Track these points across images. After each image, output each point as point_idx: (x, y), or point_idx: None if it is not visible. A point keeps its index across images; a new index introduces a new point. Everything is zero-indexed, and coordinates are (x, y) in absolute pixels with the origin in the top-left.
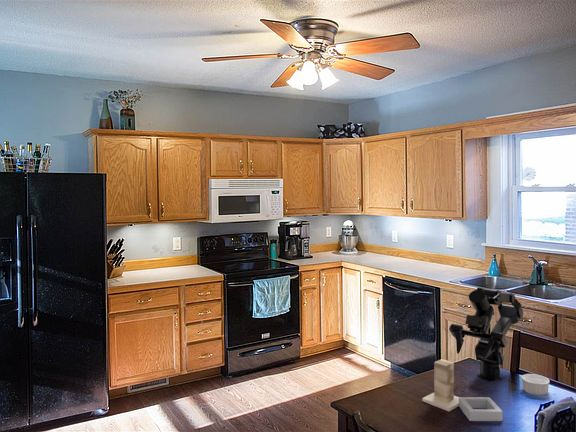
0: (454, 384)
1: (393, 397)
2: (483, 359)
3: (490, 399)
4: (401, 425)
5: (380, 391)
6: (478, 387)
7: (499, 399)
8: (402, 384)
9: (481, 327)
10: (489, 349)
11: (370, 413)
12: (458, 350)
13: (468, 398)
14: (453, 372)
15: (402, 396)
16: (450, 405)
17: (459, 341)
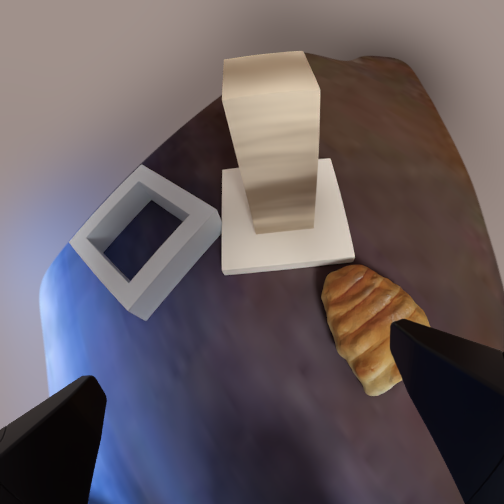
0: (340, 343)
1: (389, 129)
2: (102, 390)
3: (117, 293)
4: None
5: (435, 133)
6: (279, 467)
7: (148, 415)
8: (465, 211)
9: None
10: (3, 436)
11: (335, 65)
12: (402, 338)
13: (183, 230)
14: (234, 147)
15: (386, 148)
16: (232, 188)
17: (491, 388)
